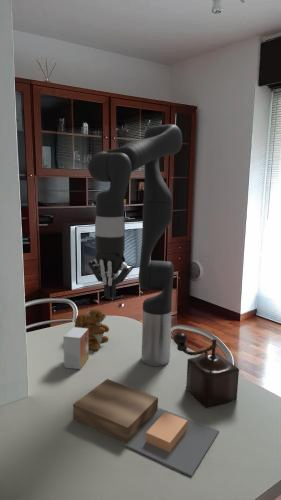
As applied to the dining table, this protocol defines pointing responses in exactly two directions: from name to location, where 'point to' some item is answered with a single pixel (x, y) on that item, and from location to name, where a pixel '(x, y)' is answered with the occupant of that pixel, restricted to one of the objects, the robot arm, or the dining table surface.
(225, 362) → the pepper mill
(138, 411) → the brown box
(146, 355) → the robot arm
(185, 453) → the mat
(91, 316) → the brown teddy bear
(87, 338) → the small box
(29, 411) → the dining table surface
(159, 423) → the orange tan block
